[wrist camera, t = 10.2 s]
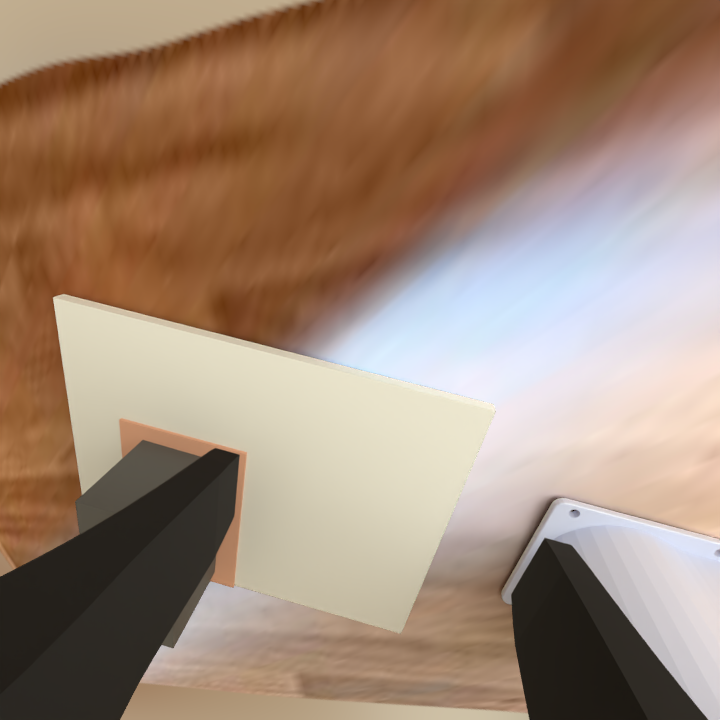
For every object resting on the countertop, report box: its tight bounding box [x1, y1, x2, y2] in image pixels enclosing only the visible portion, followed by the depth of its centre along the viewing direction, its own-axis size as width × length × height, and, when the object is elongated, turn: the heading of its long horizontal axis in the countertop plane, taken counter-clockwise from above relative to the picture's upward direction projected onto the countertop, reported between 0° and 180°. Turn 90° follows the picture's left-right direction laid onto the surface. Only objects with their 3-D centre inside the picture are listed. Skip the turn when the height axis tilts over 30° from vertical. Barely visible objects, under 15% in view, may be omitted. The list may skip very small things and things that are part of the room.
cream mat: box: [53, 294, 496, 634], centre depth 22 cm, size 21×17×1 cm
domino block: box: [75, 440, 216, 648], centre depth 21 cm, size 9×5×5 cm, turn 168°
